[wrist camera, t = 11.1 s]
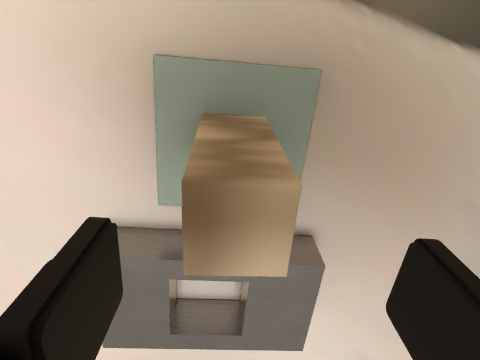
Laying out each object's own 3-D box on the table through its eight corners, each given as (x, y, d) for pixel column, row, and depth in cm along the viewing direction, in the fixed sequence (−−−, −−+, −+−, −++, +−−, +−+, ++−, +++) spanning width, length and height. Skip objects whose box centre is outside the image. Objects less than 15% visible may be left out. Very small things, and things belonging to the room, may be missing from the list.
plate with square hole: (312, 236, 24) (325, 266, 21) (293, 315, 28) (302, 350, 25) (107, 226, 23) (88, 256, 20) (117, 310, 27) (103, 347, 23)
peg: (265, 116, 19) (301, 185, 10) (259, 173, 21) (286, 276, 12) (202, 112, 19) (181, 181, 10) (202, 170, 20) (183, 275, 11)
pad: (318, 69, 19) (321, 70, 18) (292, 207, 23) (294, 212, 22) (155, 54, 18) (153, 55, 17) (159, 200, 22) (158, 204, 21)
